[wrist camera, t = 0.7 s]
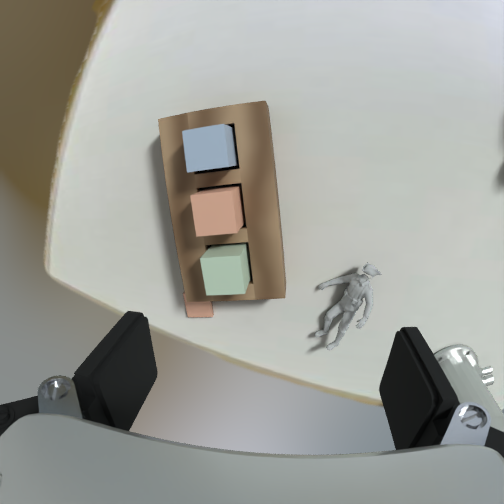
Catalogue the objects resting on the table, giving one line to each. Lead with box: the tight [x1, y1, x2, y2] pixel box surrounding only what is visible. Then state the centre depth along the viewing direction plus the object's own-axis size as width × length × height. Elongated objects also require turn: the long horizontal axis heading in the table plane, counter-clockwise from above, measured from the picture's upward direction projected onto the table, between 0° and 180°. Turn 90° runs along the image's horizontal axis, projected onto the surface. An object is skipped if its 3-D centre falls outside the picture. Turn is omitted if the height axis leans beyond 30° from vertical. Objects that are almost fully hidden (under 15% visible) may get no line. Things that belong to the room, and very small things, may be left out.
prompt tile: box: [183, 292, 214, 317], centre depth 42 cm, size 4×4×1 cm
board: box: [158, 101, 286, 302], centre depth 35 cm, size 12×22×4 cm, turn 6°
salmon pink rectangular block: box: [190, 185, 245, 237], centre depth 33 cm, size 4×4×6 cm
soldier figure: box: [315, 262, 382, 350], centre depth 37 cm, size 8×5×12 cm
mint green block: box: [200, 242, 252, 295], centre depth 35 cm, size 4×4×6 cm
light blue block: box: [182, 124, 239, 172], centre depth 31 cm, size 4×4×6 cm
